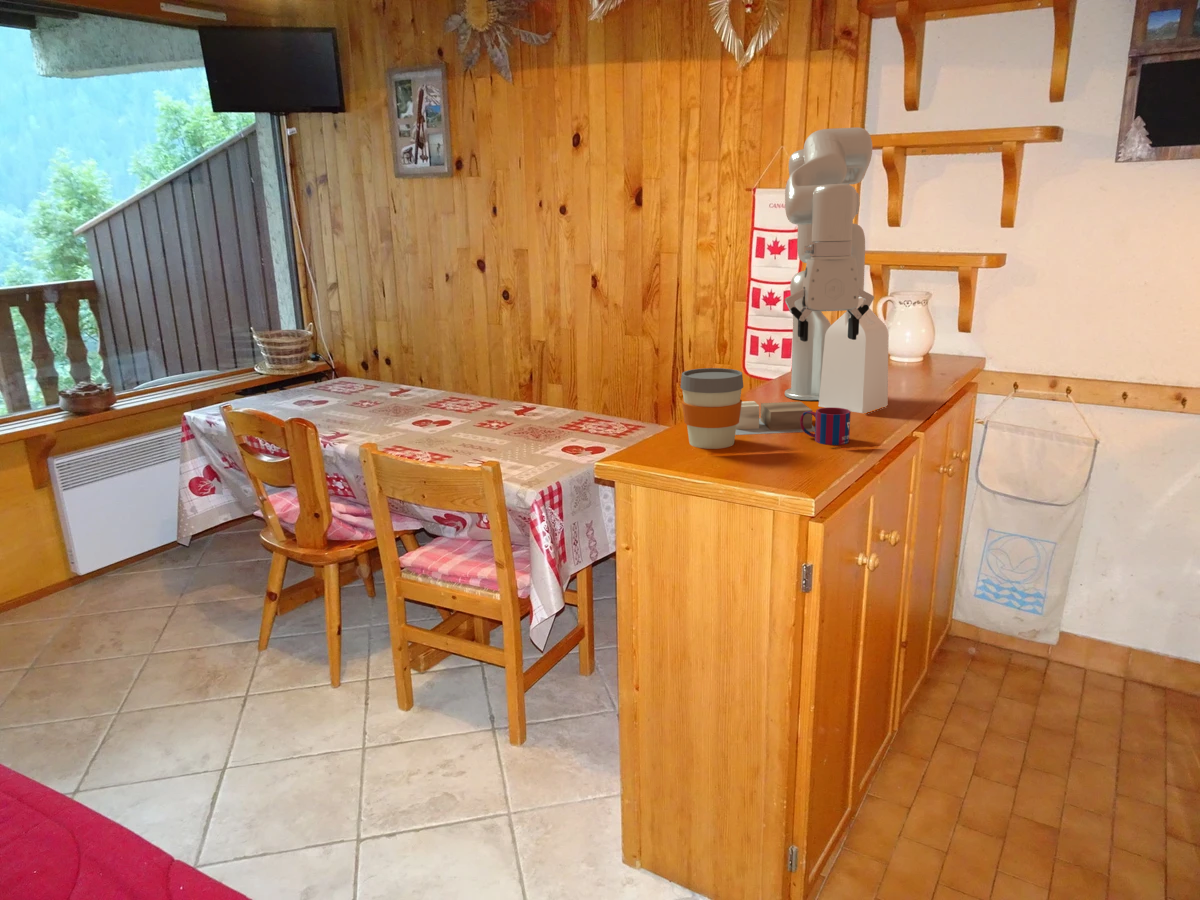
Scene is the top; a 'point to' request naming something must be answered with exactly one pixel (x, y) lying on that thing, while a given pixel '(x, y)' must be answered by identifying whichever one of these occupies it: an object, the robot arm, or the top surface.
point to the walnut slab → (785, 415)
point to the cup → (830, 426)
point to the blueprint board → (768, 430)
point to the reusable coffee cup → (711, 406)
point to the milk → (855, 365)
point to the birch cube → (749, 416)
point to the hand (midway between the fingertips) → (827, 339)
